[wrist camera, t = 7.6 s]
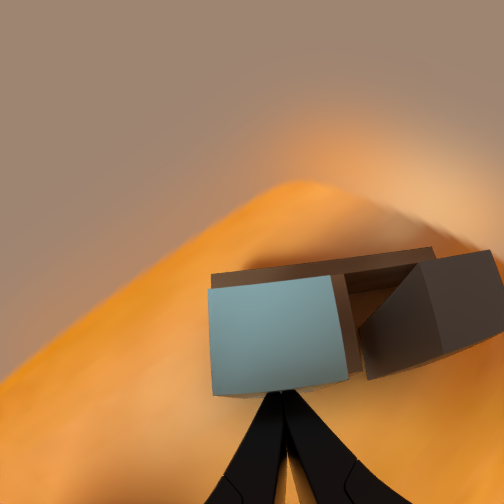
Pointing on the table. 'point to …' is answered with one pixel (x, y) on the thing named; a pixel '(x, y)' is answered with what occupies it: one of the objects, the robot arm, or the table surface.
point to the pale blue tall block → (275, 338)
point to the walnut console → (339, 284)
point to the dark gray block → (435, 314)
